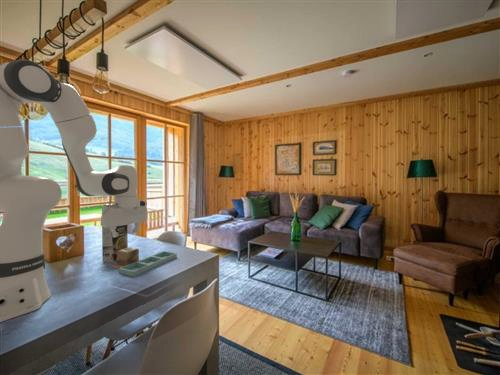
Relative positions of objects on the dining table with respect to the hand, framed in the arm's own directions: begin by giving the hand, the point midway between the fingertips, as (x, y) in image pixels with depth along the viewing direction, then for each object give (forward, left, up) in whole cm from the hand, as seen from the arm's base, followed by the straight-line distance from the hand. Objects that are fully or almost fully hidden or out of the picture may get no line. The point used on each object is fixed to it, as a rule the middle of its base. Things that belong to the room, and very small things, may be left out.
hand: (125, 235), depth 102 cm
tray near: (-3, -9, -14) cm, 17 cm away
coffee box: (+4, +12, -14) cm, 19 cm away
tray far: (+13, -9, -14) cm, 21 cm away
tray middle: (+5, -9, -14) cm, 17 cm away
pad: (+1, 0, -14) cm, 14 cm away
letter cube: (+1, 0, -13) cm, 13 cm away
